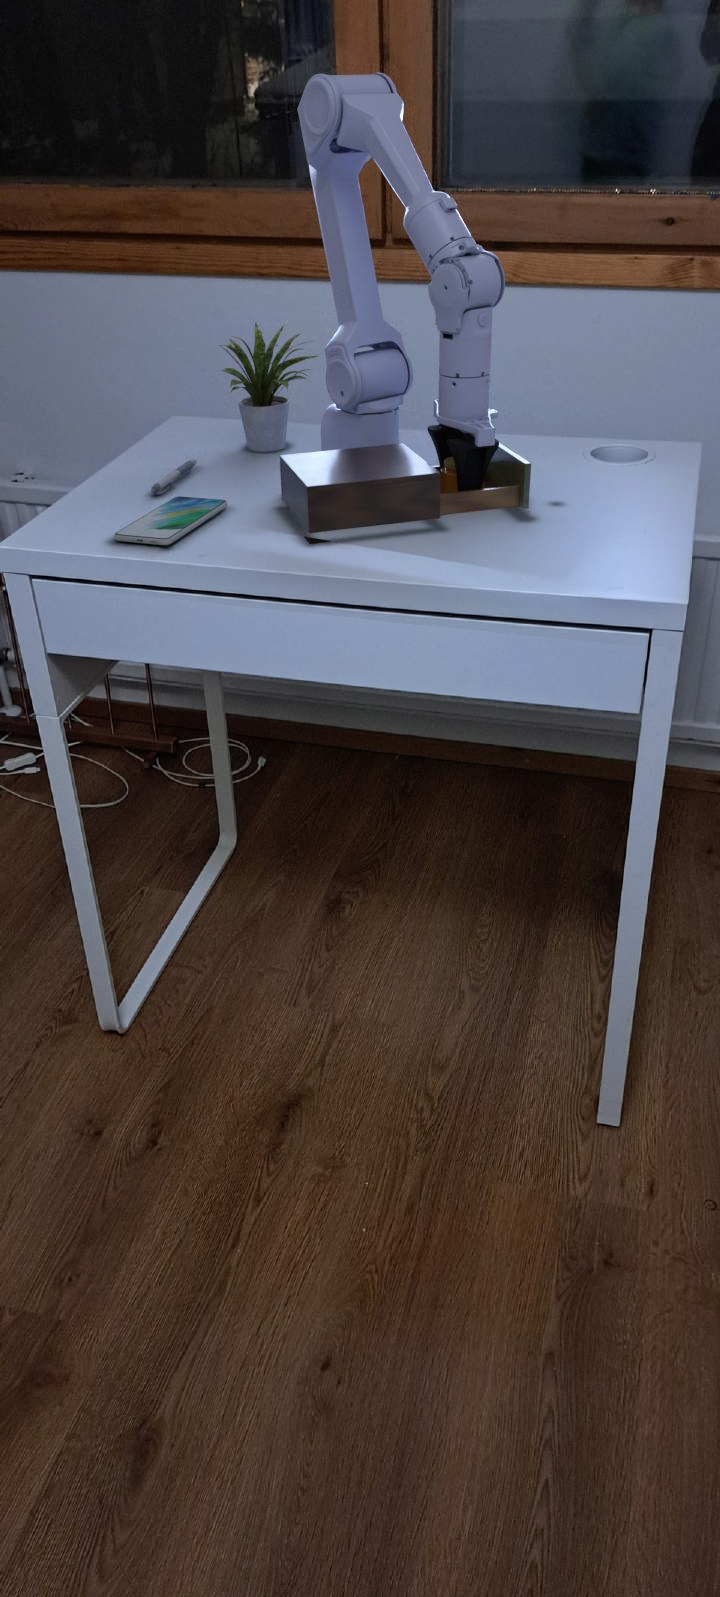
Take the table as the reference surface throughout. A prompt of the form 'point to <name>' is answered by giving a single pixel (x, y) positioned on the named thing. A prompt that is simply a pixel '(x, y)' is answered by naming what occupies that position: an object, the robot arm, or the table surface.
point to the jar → (449, 476)
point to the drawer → (493, 486)
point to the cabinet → (359, 488)
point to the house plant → (264, 391)
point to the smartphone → (171, 520)
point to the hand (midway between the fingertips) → (461, 493)
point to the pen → (172, 477)
